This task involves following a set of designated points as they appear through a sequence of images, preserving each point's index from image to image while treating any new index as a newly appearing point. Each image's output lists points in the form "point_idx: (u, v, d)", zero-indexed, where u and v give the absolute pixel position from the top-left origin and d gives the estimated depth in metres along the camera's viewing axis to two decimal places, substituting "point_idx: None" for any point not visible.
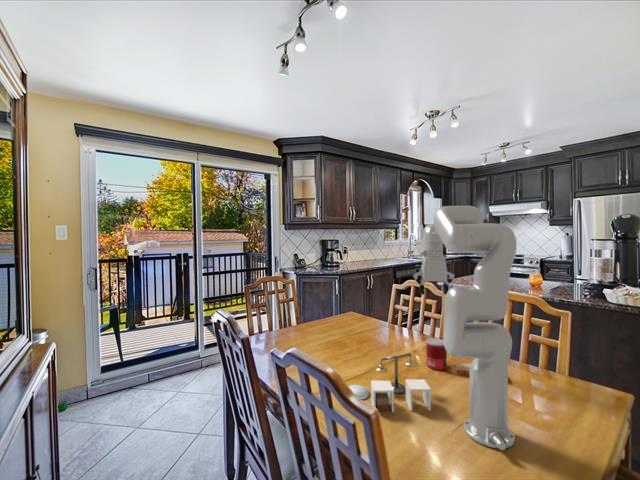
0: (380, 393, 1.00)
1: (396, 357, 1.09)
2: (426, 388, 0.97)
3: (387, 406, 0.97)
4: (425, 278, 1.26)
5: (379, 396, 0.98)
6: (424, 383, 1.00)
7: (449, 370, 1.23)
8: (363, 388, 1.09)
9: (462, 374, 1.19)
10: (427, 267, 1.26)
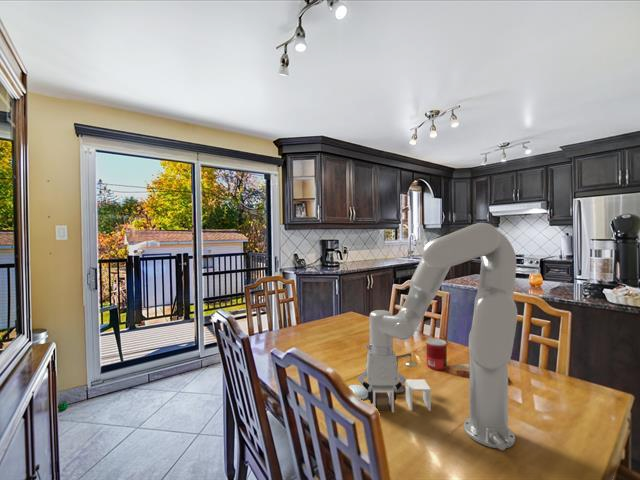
0: (380, 393, 1.00)
1: (396, 357, 1.09)
2: (426, 388, 0.97)
3: (387, 406, 0.97)
4: (369, 382, 0.97)
5: (379, 396, 0.98)
6: (424, 383, 1.00)
7: (449, 370, 1.23)
8: (363, 388, 1.09)
9: (462, 374, 1.19)
10: (372, 367, 0.96)
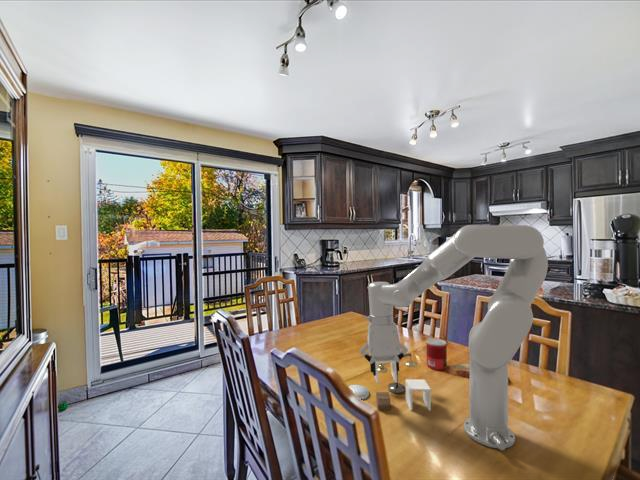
0: (381, 393, 1.00)
1: None
2: (426, 388, 0.97)
3: (388, 406, 0.97)
4: (371, 353, 0.96)
5: (380, 396, 0.98)
6: (424, 383, 1.00)
7: (449, 370, 1.23)
8: (363, 388, 1.09)
9: (462, 375, 1.19)
10: (373, 338, 0.96)
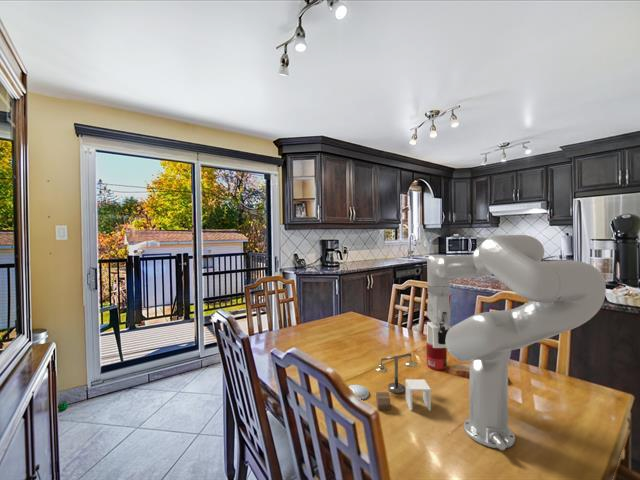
0: (381, 393, 1.00)
1: (396, 357, 1.09)
2: (426, 388, 0.97)
3: (388, 406, 0.97)
4: (427, 314, 1.10)
5: (380, 396, 0.98)
6: (424, 383, 1.00)
7: (449, 371, 1.22)
8: (363, 388, 1.09)
9: (461, 375, 1.18)
10: (428, 302, 1.09)
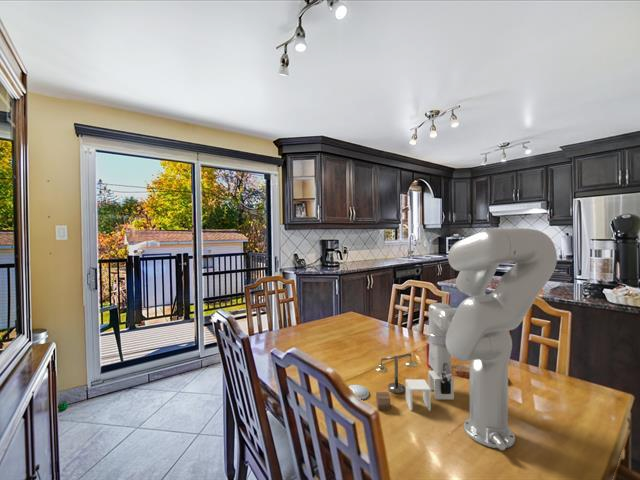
0: (381, 393, 1.00)
1: (396, 357, 1.09)
2: (426, 388, 0.97)
3: (388, 406, 0.97)
4: (429, 361, 1.10)
5: (380, 396, 0.98)
6: (424, 383, 1.00)
7: None
8: (363, 388, 1.09)
9: (461, 375, 1.18)
10: (429, 349, 1.09)
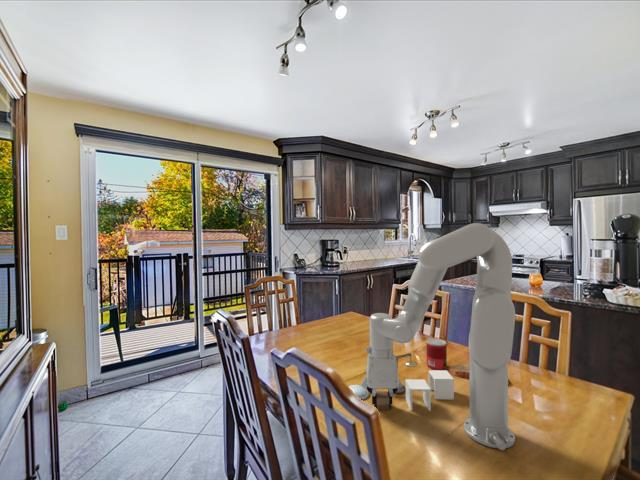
0: (380, 393, 1.00)
1: (396, 357, 1.09)
2: (426, 388, 0.97)
3: (387, 406, 0.97)
4: (369, 385, 0.97)
5: (379, 396, 0.98)
6: (424, 383, 1.00)
7: (448, 371, 1.22)
8: (363, 388, 1.09)
9: (461, 376, 1.18)
10: (372, 370, 0.97)
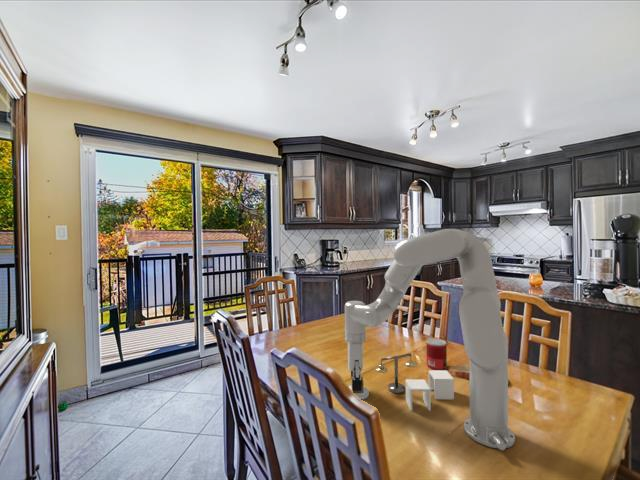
0: None
1: (396, 357, 1.09)
2: (426, 388, 0.97)
3: None
4: None
5: None
6: (424, 383, 1.00)
7: (448, 372, 1.22)
8: None
9: (461, 376, 1.18)
10: None
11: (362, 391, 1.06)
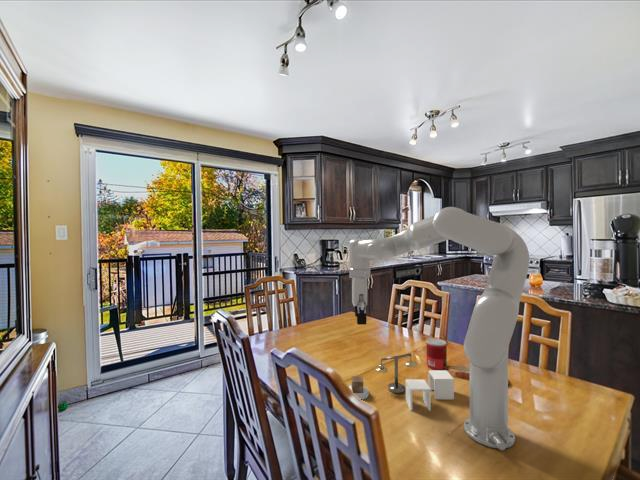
0: (359, 378, 1.08)
1: (396, 357, 1.09)
2: (426, 388, 0.97)
3: (352, 388, 1.06)
4: None
5: (353, 377, 1.09)
6: (424, 383, 1.00)
7: (448, 372, 1.21)
8: None
9: (461, 376, 1.17)
10: None
11: (362, 391, 1.06)
